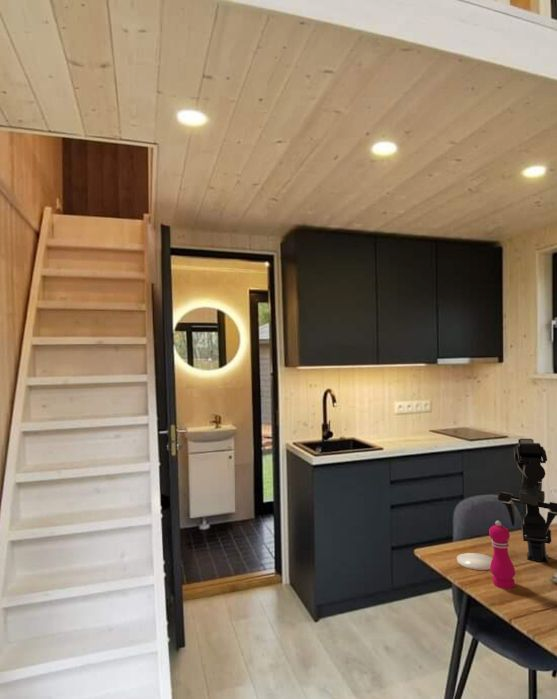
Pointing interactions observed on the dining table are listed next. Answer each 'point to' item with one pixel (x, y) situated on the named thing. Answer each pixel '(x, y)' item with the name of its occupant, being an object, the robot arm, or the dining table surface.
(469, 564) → the ceramic plate
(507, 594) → the dining table surface
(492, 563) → the pepper mill
